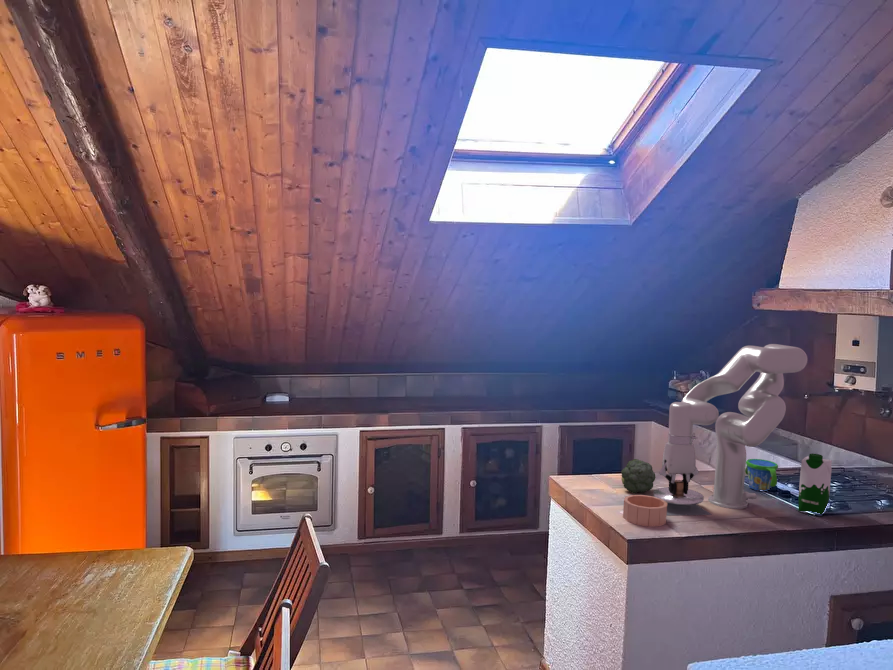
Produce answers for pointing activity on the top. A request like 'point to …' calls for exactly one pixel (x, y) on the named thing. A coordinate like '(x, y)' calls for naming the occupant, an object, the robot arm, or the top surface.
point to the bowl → (645, 510)
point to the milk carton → (814, 483)
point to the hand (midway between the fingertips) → (678, 492)
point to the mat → (685, 510)
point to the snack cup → (761, 474)
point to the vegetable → (638, 476)
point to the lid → (679, 495)
